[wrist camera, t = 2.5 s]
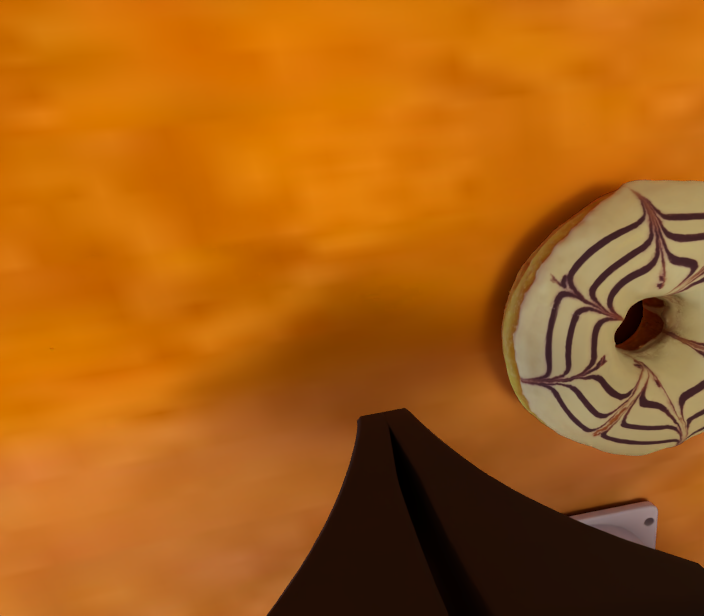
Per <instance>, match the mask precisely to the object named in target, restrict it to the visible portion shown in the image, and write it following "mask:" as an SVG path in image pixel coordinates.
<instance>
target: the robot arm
mask: <svg viewBox="0 0 704 616" xmlns="http://www.w3.org/2000/svg"><path fill="white" fill-rule="evenodd" d="M657 518H658V509H657V508H656V506H654V505H653V504H652V503H651V502H649V501H644V502H639V503H634V504H629V505H624V506H619V507H614V508H609V509H604V510H599V511H594V512H589V513H584V514H579V515H574V516H569V517H568V516H566V515H563V514H561V513H559V512H557V511H555V510H553V509H551V508H549V507H547V506H544V505H542V504H540V503H538V502H536V501H534V500H532V499H530V498H528V497H526V496H524V495H522V494H520V493H519V492H517V491H515V490H513V489H511V488H510V487H508V486H506V485H504V484H503V483H501V482H499V481H498V480H496V479H494V478H493V477H491V476H489V475H488V474H486V473H484V472H483V471H481V470H480V469H478V468H477V467H476V466H474V465H473V464H471V463H470V462H469V461H467V460H466V459H464V458H463V457H462V456H460V455H459V454H458V453H456V452H455V451H454V450H453V449H451V448H450V447H449V446H448V445H446V444H445V443H444V442H443V441H441V440H440V439H439V438H438V437H437V436H435V435H434V434H433V433H432V432H431V431H430V430H429V429H427V428H426V427H425V426H424V425H423V424H422V423H421V422H420V421H419V420H418V419H417V418H416V417H415V416H414V415H413V414H412V413H411V412H410V411H408V410H407V409H405V408H402V409H397V410H392V411H386V412H381V413H376V414H370V415H365V416H361V417H360V418H359V419H358V420H357V435H356V441H355V446H354V450H353V453H352V457H351V461H350V464H349V467H348V471H347V473H346V476H345V479H344V482H343V484H342V487H341V490H340V492H339V495H338V497H337V500H336V502H335V504H334V506H333V509H332V511H331V513H330V515H329V517H328V519H327V521H326V523H325V525H324V527H323V529H322V531H321V533H320V534H319V536H318V538H317V540H316V542H315V543H314V545H313V547H312V549H311V551H310V552H309V554H308V556H307V557H306V559H305V561H304V562H303V564H302V565H301V567H300V568H299V570H298V571H297V573H296V574H295V576H294V577H293V579H292V580H291V582H290V583H289V585H288V586H287V588H286V589H285V590H284V592H283V593H282V595H281V596H280V598H279V599H278V601H277V602H276V604H275V605H274V606H273V608H272V609H271V610H270V612H269V613H268V614H267V616H704V568H703V567H702V566H700V565H699V564H698V563H695V562H692V561H689V560H686V559H683V558H680V557H677V556H674V555H671V554H668V553H665V552H662V551H659V550H656V549H655V543H656V530H657Z"/></svg>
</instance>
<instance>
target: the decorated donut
mask: <svg viewBox="0 0 704 616" xmlns="http://www.w3.org/2000/svg"><path fill="white" fill-rule="evenodd" d="M508 292H509V293H510V294H509V295H508V300H507V303H506V304H505V305H506V308H505V310H504V317H503V322H502V327H501V328H502V330H501V335H502V347H503V355H504V359H505V363H506V368H507V372H508V376H509V380H510V383H511V385H512V387H513V390H514V392H515V394H516V396H517V397H518V399H519V401H520V402H521V403H522V405H523V406H524V407H525V409H527V410H528V411H529V412H530V413H531V414H532V415H534V416H535V417H536V418H537V419H538V420H539V421H540V422H541V423H543V424H545V425H546V426H548V427H550V428H551V429H553V430H554V431H555V432H557V433H558V434H560V435H561V436H564V437H566V438H569V439H572V440H574V441H576V442H578V443H582V444H585V445H588V446H592V447H594V448H597V449H599V450H601V451H604V452H608V453H612V454H621V455H631V456H641V455H646V454H649V453H652V452H655V451H658V450H661V449H664V448H669V447H674V446H677V445H679V444H681V443H683V442H684V441H686V440H687V439H689V438H691V437H693V436H695V435H698V434H700V433H702V432H704V182H703V181H673V180H659V181H652V180H636V181H631V182H627V183H625V184H623V185H622V186H621V187H620V188H619V189H618V190H617V191H613V192H611V193H608V194H605V195H603V196H601V197H599V198H598V199H596V200H594V201H593V202H591V203H590V204H588V205H587V206H586V207H585V208H583V209H582V210H581V211H579V212H578V213H576V214H575V215H574V216H572V217H571V218H569V219H568V220H567V221H566V222H565V223H563V224H561V225H560V226H559V227H557V228H556V229H555V230H554V231H553V232H552V233H551V234H550V235H549V236H548V237H547V238H546V239H545V240H544V241H543V242H542V243H541V244H540V246H539V247H538V248H537V249H536V250H535V251H534V252H533V253H532V254H531V255H530V257H529V258H528V259H527V261H526V262H525V263H524V264H523V265H522V268H521V269H520V271H519V272H518V274H517V276H516V280H515V282H514V283H513V286H512V288H511V291H508ZM640 300H643V308H644V310H643V317H642V320H641V323H640V325H639V327H638V329H637V330H636V332H635V333H634V334H633V335H632V336H631V337H630V338H628V339H627V340H626V341H625V342H623V343H621V344H618V345H615V344H616V343H615V342H614V334H615V332H616V330H617V328H618V327H619V326H620V324H621V323H622V322H623V320H624V318H625V316H626V314H627V312H628V310H629V308H630V307H631V306H632V305H634V304H635V303H637V302H638V301H640Z"/></svg>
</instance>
